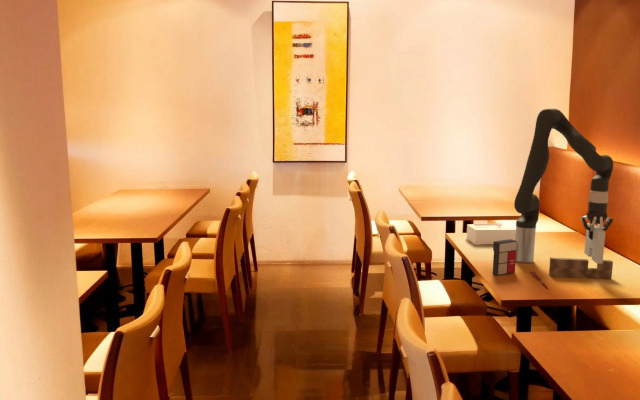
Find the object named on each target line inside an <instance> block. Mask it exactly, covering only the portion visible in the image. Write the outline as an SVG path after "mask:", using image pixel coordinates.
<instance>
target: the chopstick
mask: <svg viewBox="0 0 640 400" xmlns="http://www.w3.org/2000/svg"><path fill="white" fill-rule="evenodd" d="M530 274H531V275H532V276H533V277H534V278H535V279H536V280H537V281H538V282H539V283H540V284H541V285H542V286H543V287H544V288H545V289H546V290H549V288H548V286H547V285H546V284H545V283H544V281H542V279H541V278H540V277H539V275H538V274H537V273H536V272H535V271H530Z"/></svg>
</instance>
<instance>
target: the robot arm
mask: <svg viewBox="0 0 640 400" xmlns="http://www.w3.org/2000/svg"><path fill="white" fill-rule="evenodd" d="M537 114H538V115H537V117H536V121H535V126H534V127H535V128H534V135H533V139H532V143H531V147H530V150H529V154H528V157H527V160H526V164H525V169H524V172H523V176H522V179H521V183H520V186H519V188H518V191H517V193H516V196H515V198H514V203H513V205H514V209H515V211H516V212H517V213H518V214H520V216H519V218H517V220H516V221H515V227H516V233H515V241H517V246H516V262H517V263H523V264H525V263H527V264H531V263H534V258H535V245H536V244H535V243H536V229H537V223H538V221H539V215H540V208H541V207H540V205H541V203H540V198H539V197H538V195H537V194H535V193H534V191H535V189H536V187H537V185H538V183H539V182H540V180H541V179H542V178H543V176H544V175H545V173H546V170H547V168H548V165H549V161H550V149H549V138H550V135H551V132H552V130H553V129H554V130H556V131H557V132H559V133H560V134H561V135H562V136H563V138H565V140H566V142H567V143H568V145H569V146H570V148H571V149H572V150H573V151H574V153H577V155H579V156H580V157H581V158H582V160H584V162H585V164H586V165H587V167H588V168H589V169H591V170H592V171H594V172H595V176H593V177H592V178H591V180H590V191H589V195H588V205H587V206H588V208H587V213H586V215H584V216H580V218H579V219H580V220H581V223H582V225H583V227H584V229H585V230H586V229H587V230H589V235H588V237H589V238H590V239H591V240H592V239H593V229H594V226H595V225H596V224H597V227H599V228H600V229H602V230H603V231H605V232H606V231H607V230H608V229H609V227H610V226H611V224H612V223H613V221H614V219H613V218H612V217H609V216H608V213H607V212H608V205H609V204H608V203H609V185H610V179H611V177H612V173H613V171H614V159H613V158H612V157H611V156H610V155H607V154H604V155H603V154H602V155H600V154H599V153H598V152H597V148H596V146H595V145H594V144H593V143H592V142H590V141H589V140H588V139H587V138H586V137H585V136H584V135H583V134H581V132H580V131H578V129H576V128H575V126H574V125H573V124H572V123H571V121H569V119H568V118H567V116H565V115H564V113H563V112H562V111H561V110H559V109H558V108H545V109H542V110H540V112H539V113H537ZM587 221H589V223H590V224H589V227H588V225H587V223H588V222H587ZM605 221H606V222H605ZM604 222H605V223H604Z"/></svg>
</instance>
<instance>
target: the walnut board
mask: <svg viewBox="0 0 640 400" xmlns="http://www.w3.org/2000/svg"><path fill="white" fill-rule="evenodd" d="M589 263H590V262H589V259H588V258H572V257H571V258H568V257H567V258H566V257H549V269H548V275H549V277H558V278H559V277H561V278H577V279H579V278H582V279H584V278H585V279H600V280H612V277H613V269H614V268H613V267H614V261H613V260H610V259H608V260H607V259H603V264H599V263H596V268H595V267H589Z"/></svg>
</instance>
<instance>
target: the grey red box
mask: <svg viewBox="0 0 640 400" xmlns="http://www.w3.org/2000/svg"><path fill="white" fill-rule="evenodd" d="M516 246H517V241H515V240H512V239H509V240H501V241H494V242H493V246H492V251H493V258H492V259H493V261H492V274H493V275H496V276H501V275H502V276H503V275H508V274H513V273H515V272H516V265H517V263H516Z"/></svg>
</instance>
